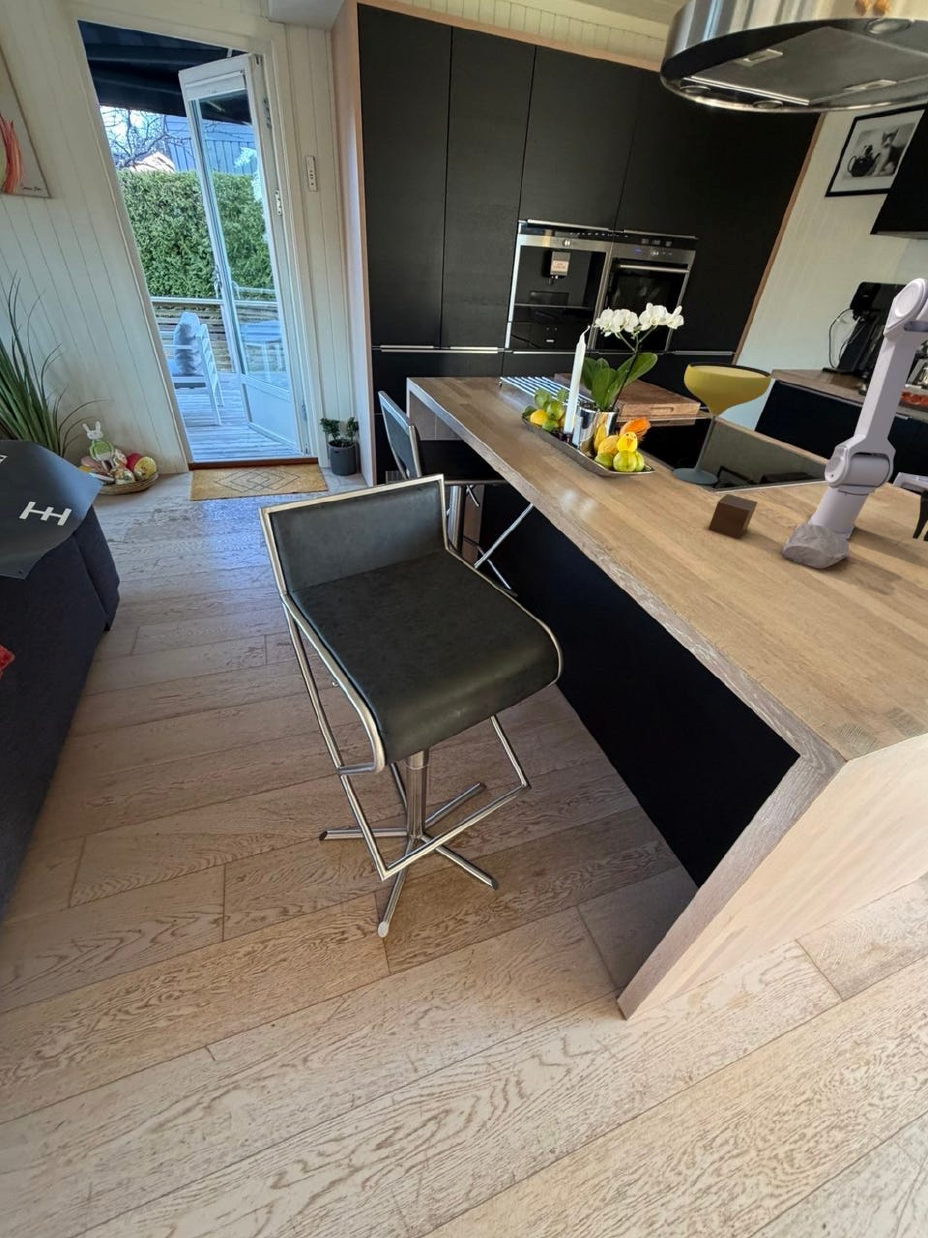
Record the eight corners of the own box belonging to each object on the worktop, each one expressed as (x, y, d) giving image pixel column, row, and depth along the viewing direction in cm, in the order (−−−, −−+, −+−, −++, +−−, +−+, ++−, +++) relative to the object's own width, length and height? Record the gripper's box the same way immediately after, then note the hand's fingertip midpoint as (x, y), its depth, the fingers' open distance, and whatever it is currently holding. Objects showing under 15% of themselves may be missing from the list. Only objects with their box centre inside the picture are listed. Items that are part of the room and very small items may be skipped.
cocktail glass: (737, 474, 136) (775, 369, 121) (727, 496, 123) (769, 381, 108) (667, 459, 142) (695, 359, 128) (650, 478, 130) (680, 368, 115)
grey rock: (839, 560, 102) (789, 535, 106) (856, 540, 99) (804, 515, 102) (827, 585, 95) (774, 556, 98) (845, 564, 91) (789, 536, 95)
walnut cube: (717, 520, 110) (727, 493, 107) (746, 529, 108) (757, 502, 104) (708, 529, 107) (718, 501, 103) (738, 538, 104) (749, 510, 100)
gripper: (911, 452, 81) (867, 531, 89) (1034, 476, 74) (974, 561, 82) (914, 443, 86) (872, 519, 94) (1030, 465, 79) (974, 546, 86)
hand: (920, 538), depth 88 cm, fingers closed
